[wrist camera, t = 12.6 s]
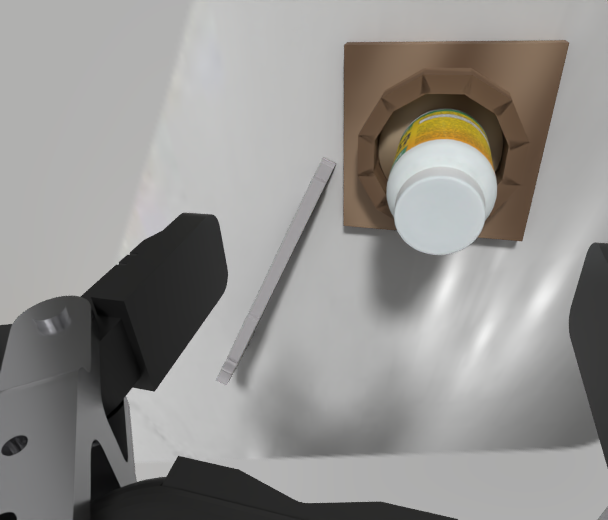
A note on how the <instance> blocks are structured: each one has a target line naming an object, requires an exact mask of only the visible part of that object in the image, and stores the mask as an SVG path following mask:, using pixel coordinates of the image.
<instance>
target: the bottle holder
mask: <svg viewBox="0 0 608 520" xmlns="http://www.w3.org/2000/svg"><path fill="white" fill-rule="evenodd" d="M568 46H569V43H568V42H567V41H566V40H555V41H446V42H347V43H346V44H345V45H344V226H353V227H364V228H376V229H387V230H397V229H396V226H395V222H394V217H393V215H392V213H391V211H390V209H389V206H388V202H387V195H386V193H387V182H388V178H389V175H390V171H391V168H392V165H393V162H394V159H395V156H396V152H397V149H398V146H399V142H400V139H401V137H402V135H403V133H404V131H405V130H406V128H407V127H408V126H409V125H410V124H411V123H412V122H413V121H414V120H415V119H417V118H418V117H419V116H421V115H423V114H424V113H426V112H429V111H431V110H434V109H439V108H452V109H457V110H461V111H463V112H465V113H467V114H469V115H471V116H472V117H473V118H474V119H476V120H477V121H478V122H479V124H480V125H481V126H482V128H483V129H484V131H485V133H486V135H487V138H488V141H489V147H490V152H491V156H492V162H493V166H494V171H495V175H496V181H497V197H496V201H495V204H494V207H493V209H492V211H491V213H490V215H489V216H488V218H487V219H486V220H485V223H484V226H483V229H482V231H481V233H480V234H479V236H478V237H479V238H490V239H502V240H513V241H522V240H523V236H524V232H525V227H526V223H527V219H528V215H529V211H530V206H531V202H532V198H533V194H534V189H535V185H536V181H537V177H538V173H539V168H540V164H541V160H542V156H543V152H544V147H545V143H546V139H547V135H548V130H549V126H550V122H551V118H552V114H553V109H554V105H555V101H556V97H557V92H558V88H559V84H560V80H561V76H562V71H563V67H564V63H565V59H566V54H567V50H568Z"/></svg>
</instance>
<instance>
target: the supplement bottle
mask: <svg viewBox="0 0 608 520" xmlns="http://www.w3.org/2000/svg"><path fill="white" fill-rule="evenodd" d="M386 195H387V202H388V206H389V209H390V211H391V213H392V215H393V217H394V222H395V226H396V229H397V231H398V233H399V235H400V236H401V238H402V239H403V240H404V241H405V242H406V243H407V244H408V245H409V246H410V247H412V248H414V249H415V250H418V251H420V252H423V253H426V254H431V255H447V254H452V253H455V252H458V251H460V250H463V249H464V248H466V247H468V246H469V245H470V244H471V243H473V242H474V241H475V239H476V238H477V237H478V236H479V234H480V233H481V231H482V229H483V226H484V223H485V220H486V219H487V218H488V216H489V215H490V213H491V211H492V209H493V207H494V204H495V201H496V197H497V181H496V175H495V171H494V166H493V162H492V156H491V152H490V147H489V141H488V138H487V135H486V133H485V131H484V129H483V128H482V126H481V125H480V124H479V122H478V121H477V120H476V119H474V118H473V117H472V116H471V115H469V114H467V113H465V112H463V111H461V110H457V109H452V108H439V109H434V110H431V111H429V112H426V113H424V114H423V115H421V116H419V117H418V118H417V119H415V120H414V121H413V122H412V123H411V124H410V125H409V126H408V127H407V128H406V130H405V131H404V133H403V135H402V137H401V139H400V142H399V146H398V149H397V152H396V156H395V159H394V162H393V165H392V168H391V171H390V175H389V178H388V182H387V193H386Z"/></svg>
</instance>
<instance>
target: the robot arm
mask: <svg viewBox="0 0 608 520" xmlns="http://www.w3.org/2000/svg"><path fill="white" fill-rule="evenodd" d="M227 279H228V270H227V264H226V259H225V253H224V248H223V242H222V237H221V231H220V226H219V222H218V220H217V218H216V217H215V216H214V215H211V214H197V213H182V214H180V215H179V216H178V217H177V218H176V219H175V220H174V221H173V222H172V223H171V224H169V225H168V226H167V227H166V228H165V229H164V230H163V231H161V232H159V233H157V234H155V235H153V236H151V237H149V238H147V239H145V240H143V241H142V242H141V243H140V244H139V245H138V246H137V247H136V248H134V249H133V250H132V251H131V252H130V255H127V256H125V257H124V258H123V259H122V260H121V261H120V262H119V265H115V266H114V267H113V268H112V269H111V270H110V271H109V272H108V273H106V274H105V275H104V276H103V277H102V278H101V279H100V280H99V281H97V282H96V283H95V284H94V285H93V286H92V287H91V288H90V289H89V290H88V291H86V292H85V293H84V294H83V295H82V296H81V297H79V296H61V297H56V298H52V299H49V300H46V301H43V302H40V303H38V304H36V305H34V306H32V307H31V308H29V309H27V310H26V311H25V312H23V313H22V314H21V315H20V316H18V318H17V319H16V320H15V321H14V323H13V324H8V325H0V520H458V519H454V518H450V517H446V516H441V515H437V514H432V513H428V512H424V511H419V510H415V509H410V508H406V507H401V506H397V505H393V504H389V503H384V502H351V503H350V502H348V503H347V502H346V503H302V502H298V501H296V500H294V499H292V498H290V497H288V496H286V495H284V494H283V493H281V492H279V491H277V490H275V489H273V488H272V487H270V486H268V485H266V484H264V483H262V482H261V481H258V480H257V479H255V478H253V477H251V476H250V475H248V474H246V473H244V472H242V471H240V470H238V469H234V468H229V467H224V466H220V465H216V464H212V463H207V462H203V461H198V460H194V459H190V458H185V457H181V456H178V457H177V459H176V461H175V463H174V464H173V466H172V468H171V470H170V471H169V473H168V475H167V477H160V478H154V479H147V480H143V481H139V482H137V481H136V474H135V463H134V452H133V441H132V429H131V418H130V407H129V403H128V400H127V397H126V395H127V394H128V392H129V391H130V390H131V388H132V387H133V388H139V389H144V390H149V391H155V390H156V389H157V387H158V386H159V384H160V383H161V382H162V380H163V379H164V377H165V376H166V375H167V373H168V372H169V370H170V369H171V367H172V366H173V365H174V363H175V362H176V360H177V359H178V357H179V356H180V355H181V353H182V352H183V350H184V349H185V348H186V346H187V345H188V343H189V342H190V340H191V339H192V338H193V336H194V335H195V333H196V332H197V331H198V329H199V328H200V326H201V325H202V323H203V322H204V321H205V319H206V318H207V316H208V315H209V314H210V312H211V311H212V309H213V308H214V306H215V305H216V304H217V302H218V301H219V299H220V298H221V296H222V295H223V293H224V291H225V289H226V285H227ZM569 333H570V338H571V342H572V345H573V349H574V352H575V356H576V359H577V363H578V366H579V370H580V373H581V377H582V380H583V384H584V387H585V391H586V394H587V397H588V401H589V404H590V408H591V411H592V415H593V418H594V422H595V425H596V429H597V432H598V436H599V439H600V443H601V446H602V449H603V453H604V457H605V460H606V463H607V467H608V243H593V244H592V245H591V246H590V248H589V249H588V252H587V255H586V258H585V261H584V265H583V268H582V271H581V275H580V278H579V281H578V285H577V288H576V292H575V295H574V298H573V302H572V305H571V309H570V316H569ZM598 520H608V507H607V508H606V509H605V511H604V512H603V513H602V515H601V516H600V517H599V518H598Z"/></svg>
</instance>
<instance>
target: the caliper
mask: <svg viewBox="0 0 608 520" xmlns="http://www.w3.org/2000/svg"><path fill="white" fill-rule="evenodd" d="M335 165H336V163H334V162H332V161H330V160H328V159H326V158H324V157H323V158H322V160H321V162H320V164H319V166H318V169H317V171H316V173H315V175H314V176H313V178H312V180H311V182H310V184H309V187H308V189H307V191H306V193H305V195H304V197H303V199H302V201H301V203H300V206H299V208H298V210H297V212H296V214H295V216H294V218H293V220H292V222H291V225H290V227H289V229H288V231H287V233H286V235H285V237H284V239H283V241H282V244H281V246H280V248H279V250H278V252H277V254H276V256H275V258H274V260H273V263H272V265H271V267H270V269H269V271H268V273H267V275H266V277H265V279H264V282H263V284H262V286H261V288H260V290H259V292H258V294H257V296H256V299H255V301H254V303H253V305H252V307H251V309H250V311H249V313H248V315H247V317H246V319H245V321H244V323H243V325H242V327H241V329H240V331H239V334H238V336H237V338H236V340H235V342H234V344H233V346H232V348H231V350H230V353H229V355H228V358H227V359H226V361H225V363H224V364H223V366H222V368H221V371H220V373H219V375H218V376H217V378H216V381H218V382H220V383H222V384H224V385H227V383H228V382H229V380H230V378H231V377H232V375H233V373H234V371H235V369H236V367H237V366H238V364H239V362H240V360H241V358H242V356H243V354H244V353H245V351H246V349H247V347H248V345H249V342H250V340H251V338H252V336H253V335H254V332H255V329H256V327H257V325H258V323H259V321H260V319H261V317H262V315H263V313H264V311H265V309H266V306H267V304H268V302H269V300H270V298H271V296H272V294H273V292H274V289H275V287H276V285H277V283H278V281H279V279H280V277H281V275H282V273H283V271H284V269H285V267H286V265H287V263H288V261H289V259H290V257H291V255H292V253H293V251H294V249H295V247H296V245H297V243H298V241H299V238H300V236H301V234H302V232H303V230H304V228H305V226H306V224H307V222H308V220H309V218H310V216H311V214H312V212H313V210H314V208H315V206H316V204H317V202H318V200H319V198H320V196H321V194H322V192H323V189H324V187H325V185H326V183H327V181H328V179H329V177H330V175H331V173H332V171H333V169H334V167H335Z"/></svg>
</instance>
